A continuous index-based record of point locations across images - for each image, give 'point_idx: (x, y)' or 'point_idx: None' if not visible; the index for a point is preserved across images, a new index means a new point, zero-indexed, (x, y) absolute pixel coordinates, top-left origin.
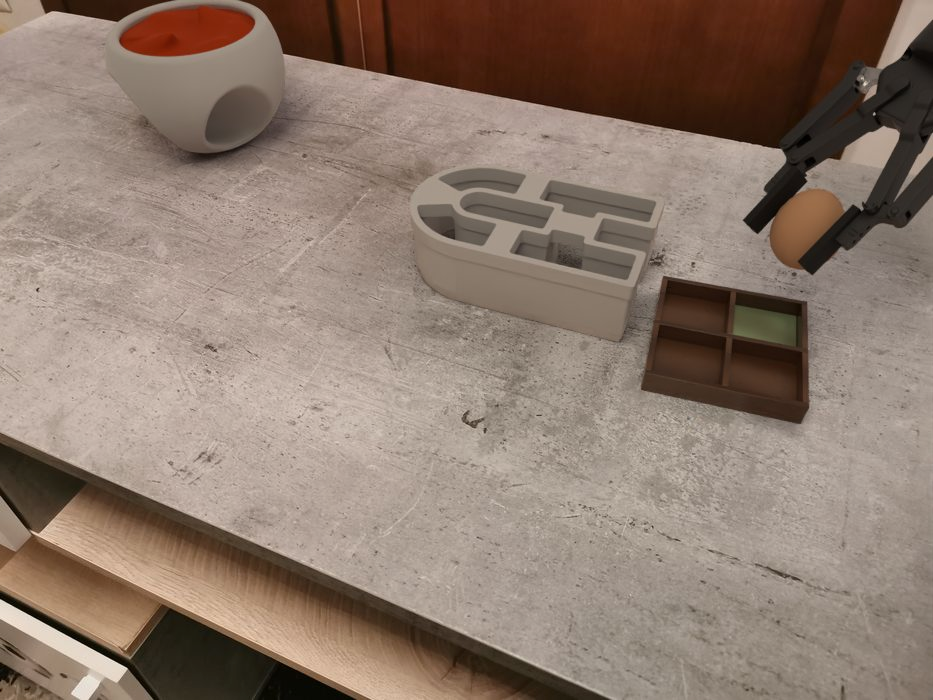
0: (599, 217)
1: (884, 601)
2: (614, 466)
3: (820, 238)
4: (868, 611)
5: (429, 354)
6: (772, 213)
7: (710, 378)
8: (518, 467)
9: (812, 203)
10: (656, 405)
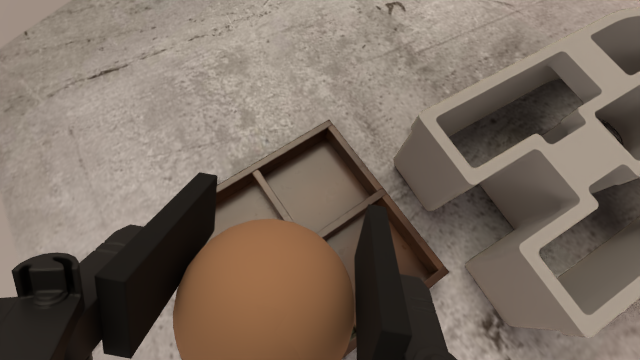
0: (585, 196)
1: (18, 111)
2: (276, 53)
3: (188, 206)
4: (28, 94)
5: (484, 25)
6: (359, 278)
7: (284, 195)
8: (330, 3)
9: (258, 253)
10: (300, 130)
